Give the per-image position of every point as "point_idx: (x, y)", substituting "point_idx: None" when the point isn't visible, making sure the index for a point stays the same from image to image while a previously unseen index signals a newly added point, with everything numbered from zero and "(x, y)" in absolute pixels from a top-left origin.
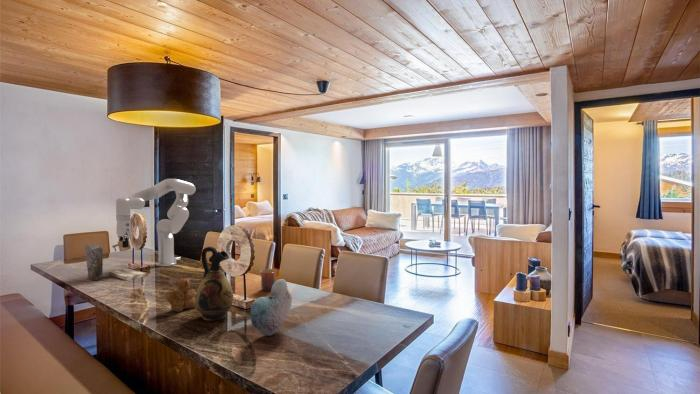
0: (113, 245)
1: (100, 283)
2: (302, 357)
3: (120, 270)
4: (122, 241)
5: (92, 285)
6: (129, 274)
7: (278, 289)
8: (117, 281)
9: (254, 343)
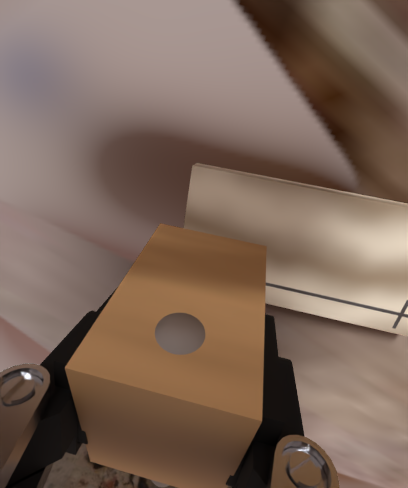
0: (163, 483)
1: (305, 391)
2: None
3: (208, 233)
4: (196, 471)
5: (301, 418)
6: (376, 290)
7: None
8: (363, 350)
9: None
